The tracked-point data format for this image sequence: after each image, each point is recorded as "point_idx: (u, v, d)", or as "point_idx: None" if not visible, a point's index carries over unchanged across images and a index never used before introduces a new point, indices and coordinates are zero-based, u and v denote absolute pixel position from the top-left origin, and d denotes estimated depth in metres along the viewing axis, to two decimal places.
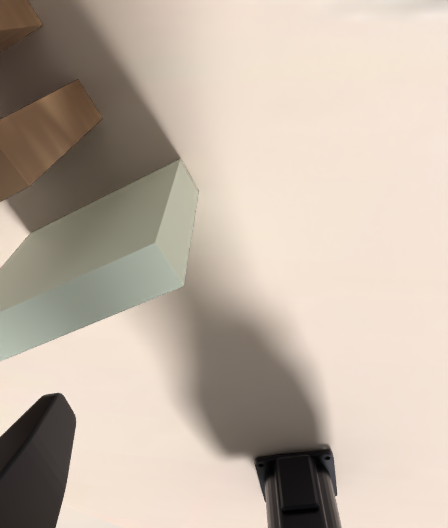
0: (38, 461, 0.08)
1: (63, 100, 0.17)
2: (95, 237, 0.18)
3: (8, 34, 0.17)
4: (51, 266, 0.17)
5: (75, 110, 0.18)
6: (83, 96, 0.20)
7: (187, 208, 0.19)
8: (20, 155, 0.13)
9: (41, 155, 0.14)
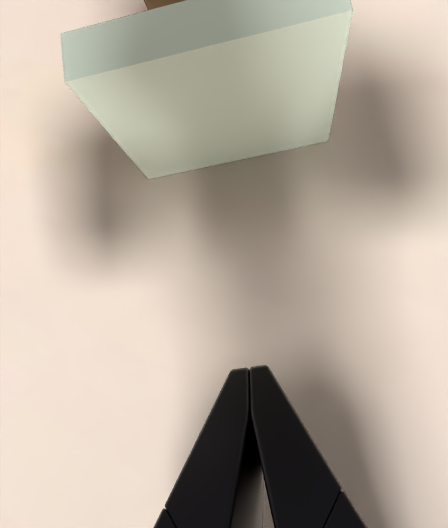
0: (253, 436, 0.08)
1: None
2: None
3: None
4: None
5: None
6: None
7: None
8: None
9: None
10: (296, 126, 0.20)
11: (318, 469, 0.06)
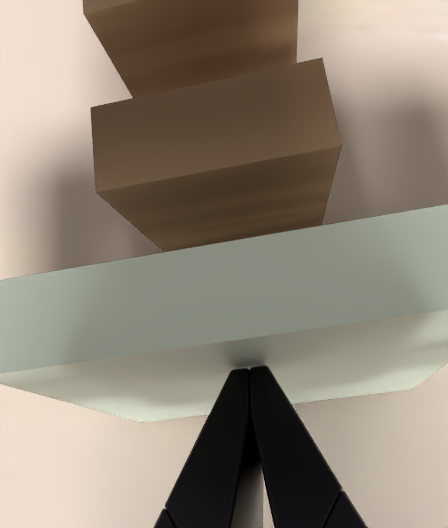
0: (253, 436, 0.08)
1: None
2: None
3: None
4: None
5: None
6: None
7: None
8: None
9: None
10: (370, 383, 0.13)
11: (318, 469, 0.06)
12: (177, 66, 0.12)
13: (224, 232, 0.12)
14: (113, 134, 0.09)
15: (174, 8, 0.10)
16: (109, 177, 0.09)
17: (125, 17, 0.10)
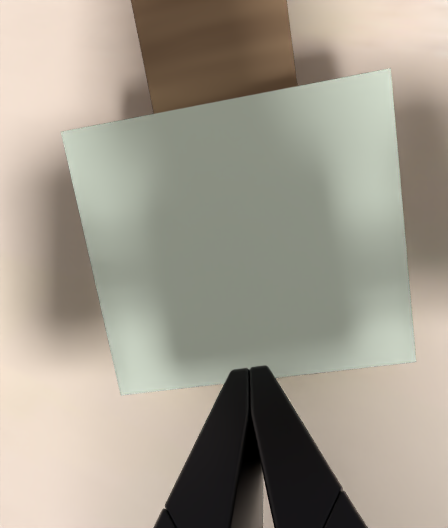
0: (253, 436, 0.08)
1: None
2: None
3: None
4: None
5: None
6: None
7: None
8: None
9: None
10: (353, 298, 0.13)
11: (318, 469, 0.06)
12: None
13: (209, 85, 0.14)
14: None
15: None
16: None
17: None
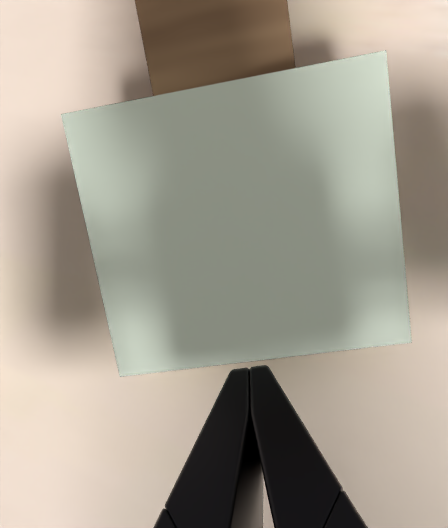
0: (253, 436, 0.08)
1: None
2: None
3: None
4: None
5: None
6: None
7: None
8: None
9: None
10: (349, 279, 0.13)
11: (318, 469, 0.06)
12: None
13: (209, 70, 0.14)
14: None
15: None
16: None
17: None
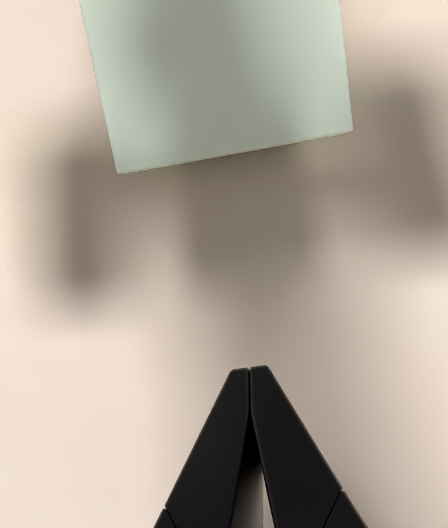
0: (253, 436, 0.08)
1: None
2: None
3: None
4: None
5: None
6: None
7: None
8: None
9: None
10: (301, 76, 0.17)
11: (318, 469, 0.06)
12: None
13: None
14: None
15: None
16: None
17: None
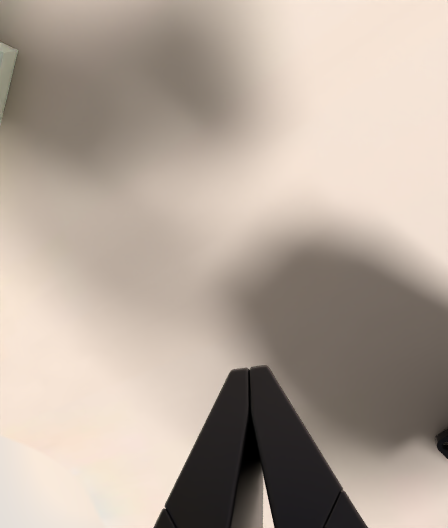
0: (253, 436, 0.08)
1: None
2: None
3: None
4: None
5: None
6: None
7: None
8: None
9: None
10: None
11: (318, 469, 0.06)
12: None
13: None
14: None
15: None
16: None
17: None
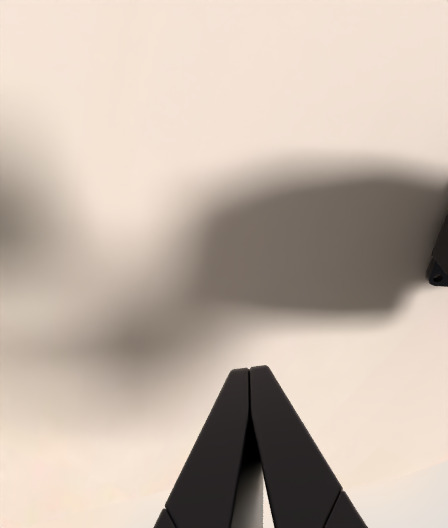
0: (253, 436, 0.08)
1: None
2: None
3: None
4: None
5: None
6: None
7: None
8: None
9: None
10: None
11: (318, 469, 0.06)
12: None
13: None
14: None
15: None
16: None
17: None
